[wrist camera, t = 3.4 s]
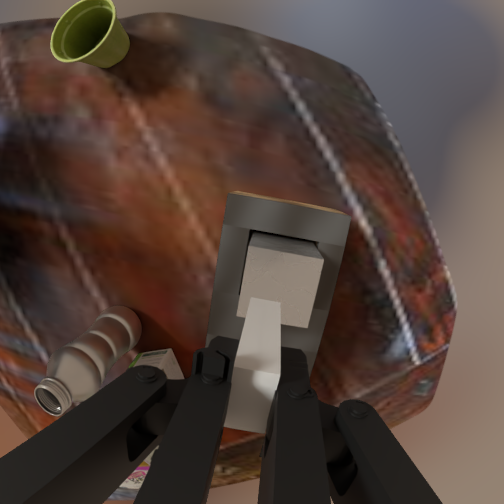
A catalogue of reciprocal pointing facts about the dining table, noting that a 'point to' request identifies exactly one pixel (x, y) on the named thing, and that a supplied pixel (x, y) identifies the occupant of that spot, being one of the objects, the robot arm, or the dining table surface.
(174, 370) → the syrup box
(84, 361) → the plastic bottle
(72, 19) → the plant pot
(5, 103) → the dining table surface
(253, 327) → the robot arm
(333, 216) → the socket block
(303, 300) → the peg
